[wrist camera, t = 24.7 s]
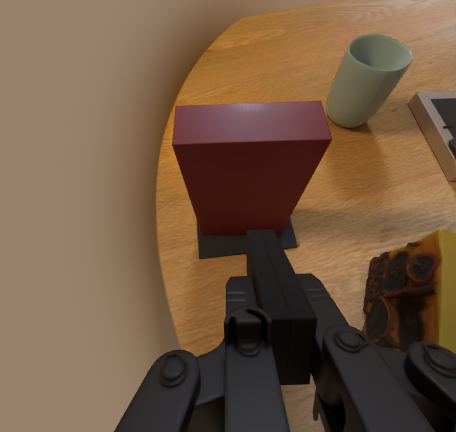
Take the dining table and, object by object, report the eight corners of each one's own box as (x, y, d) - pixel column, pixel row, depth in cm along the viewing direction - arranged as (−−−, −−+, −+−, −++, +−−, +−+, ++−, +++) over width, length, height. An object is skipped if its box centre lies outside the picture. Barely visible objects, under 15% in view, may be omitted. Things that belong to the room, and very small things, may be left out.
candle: (356, 347, 23) (434, 362, 14) (367, 257, 27) (434, 224, 18) (465, 391, 22) (632, 438, 13) (460, 288, 26) (584, 269, 17)
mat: (296, 247, 28) (297, 246, 28) (199, 259, 28) (199, 258, 27) (265, 128, 37) (266, 126, 36) (191, 135, 36) (190, 134, 36)
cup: (350, 143, 35) (392, 80, 26) (310, 117, 37) (335, 51, 28) (378, 117, 37) (425, 51, 28) (338, 94, 40) (369, 27, 31)
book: (278, 207, 30) (321, 100, 16) (281, 232, 29) (332, 139, 14) (202, 210, 30) (175, 105, 16) (201, 235, 29) (171, 144, 14)
